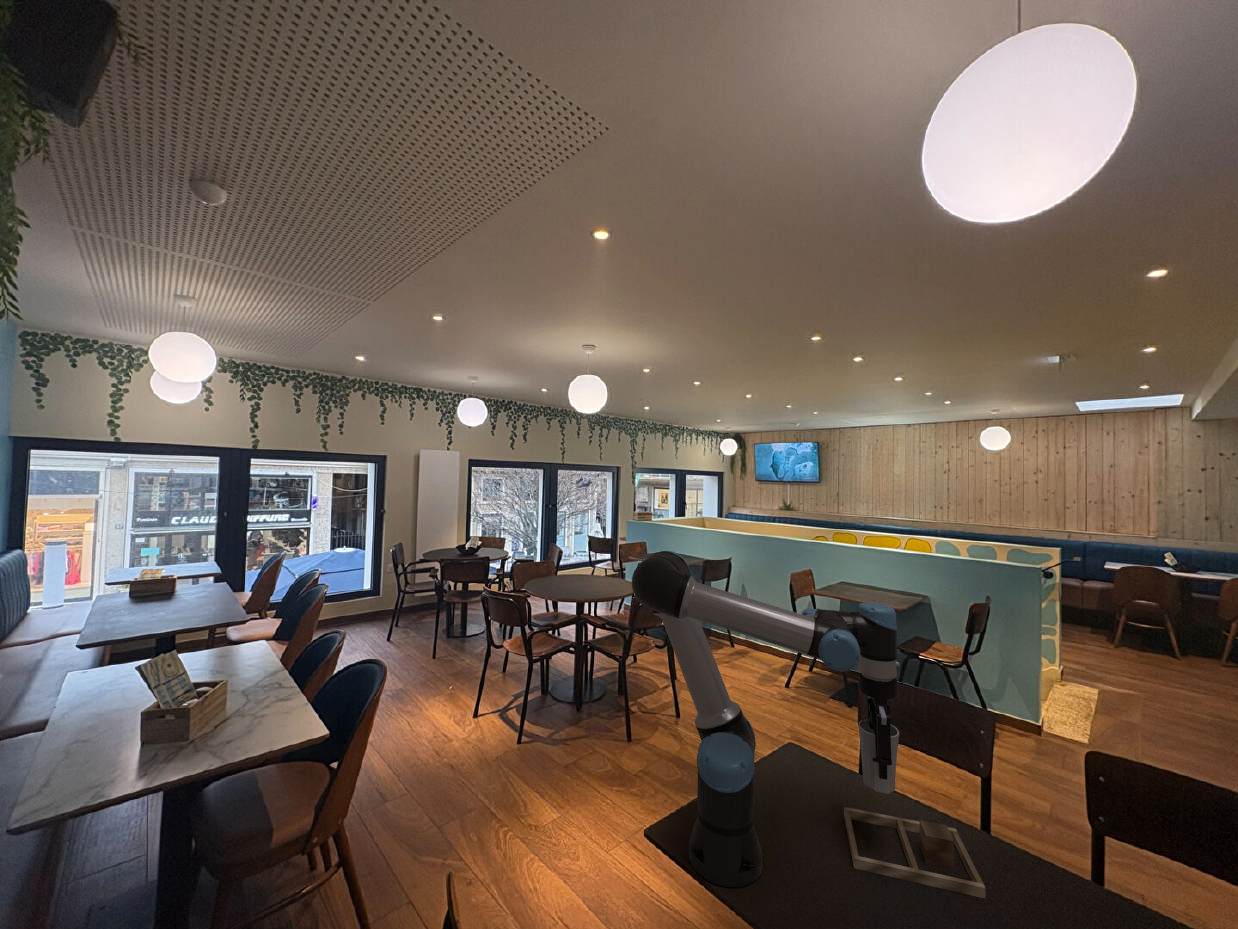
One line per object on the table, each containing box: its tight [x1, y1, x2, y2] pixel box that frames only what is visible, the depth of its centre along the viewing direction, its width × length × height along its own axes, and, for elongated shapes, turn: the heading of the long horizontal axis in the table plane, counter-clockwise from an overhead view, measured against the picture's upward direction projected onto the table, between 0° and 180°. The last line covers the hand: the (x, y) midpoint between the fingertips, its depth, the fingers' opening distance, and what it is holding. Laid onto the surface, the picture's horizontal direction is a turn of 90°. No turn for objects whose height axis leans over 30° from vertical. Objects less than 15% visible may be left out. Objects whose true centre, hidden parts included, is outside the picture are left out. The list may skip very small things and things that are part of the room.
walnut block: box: [919, 819, 955, 872], centre depth 105 cm, size 5×5×6 cm
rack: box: [843, 806, 986, 899], centre depth 107 cm, size 23×17×2 cm
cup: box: [858, 718, 900, 793], centre depth 109 cm, size 8×8×12 cm
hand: (878, 780), depth 109 cm, fingers closed on cup, 7 cm apart
